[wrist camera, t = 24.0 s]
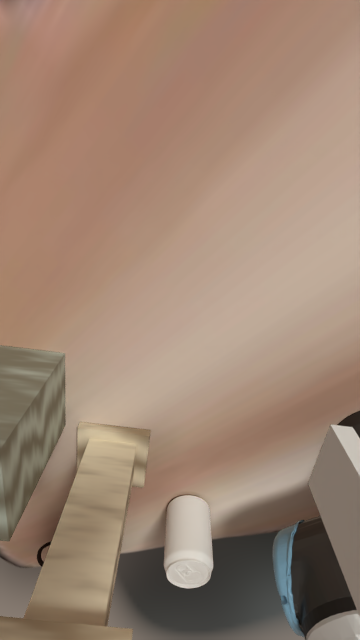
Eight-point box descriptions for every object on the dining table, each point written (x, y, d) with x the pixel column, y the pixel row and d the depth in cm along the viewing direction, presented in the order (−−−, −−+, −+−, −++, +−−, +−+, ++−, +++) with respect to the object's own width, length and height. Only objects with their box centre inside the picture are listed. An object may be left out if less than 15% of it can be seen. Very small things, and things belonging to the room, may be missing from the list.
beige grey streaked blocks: (149, 485, 63) (120, 725, 36) (-6, 468, 62) (-158, 701, 35) (165, 365, 53) (141, 573, 26) (-21, 342, 52) (-253, 533, 25)
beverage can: (183, 527, 68) (182, 595, 57) (158, 503, 65) (152, 570, 54) (217, 511, 66) (223, 579, 55) (193, 486, 63) (194, 552, 52)
